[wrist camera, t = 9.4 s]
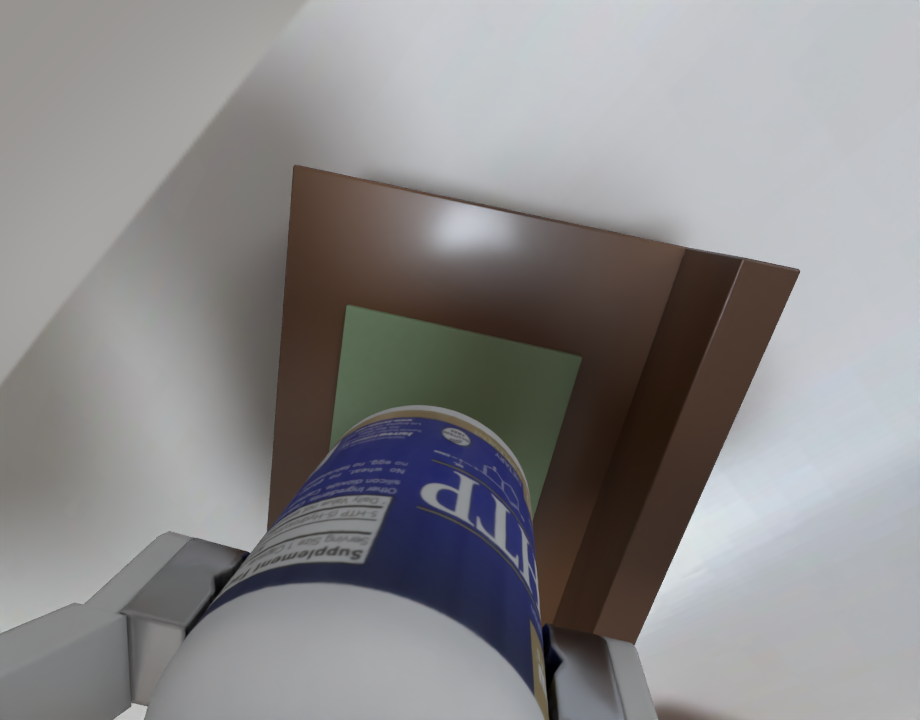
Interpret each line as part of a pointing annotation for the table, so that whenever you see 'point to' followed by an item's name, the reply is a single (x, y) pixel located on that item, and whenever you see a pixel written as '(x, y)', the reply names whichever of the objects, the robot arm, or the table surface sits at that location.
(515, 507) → the pill bottle
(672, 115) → the table surface
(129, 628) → the robot arm
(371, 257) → the shelf
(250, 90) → the table surface
